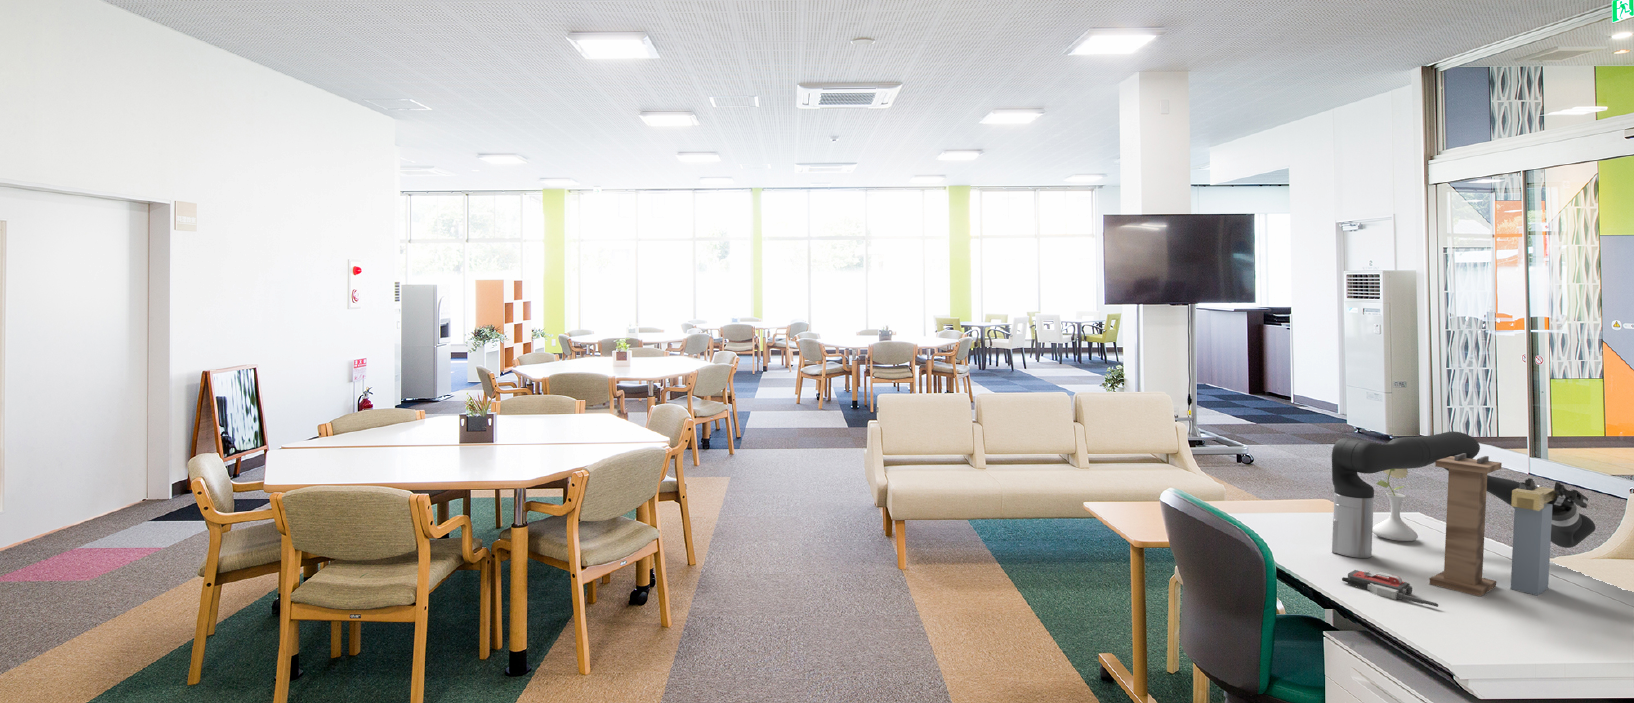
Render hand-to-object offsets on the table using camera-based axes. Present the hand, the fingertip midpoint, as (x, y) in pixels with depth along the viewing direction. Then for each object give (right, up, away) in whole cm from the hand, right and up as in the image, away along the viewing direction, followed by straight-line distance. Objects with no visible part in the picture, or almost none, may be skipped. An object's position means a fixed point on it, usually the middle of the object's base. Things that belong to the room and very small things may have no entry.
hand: (1543, 483), depth 186 cm
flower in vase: (-8, -24, +39) cm, 46 cm away
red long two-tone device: (-44, -27, -6) cm, 52 cm away
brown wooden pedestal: (-22, -26, -1) cm, 34 cm away
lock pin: (-4, -4, -2) cm, 6 cm away
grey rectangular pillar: (-6, -26, -3) cm, 27 cm away
